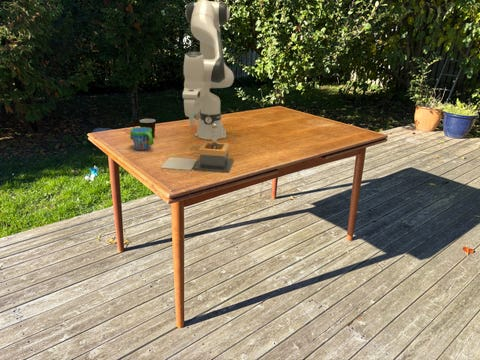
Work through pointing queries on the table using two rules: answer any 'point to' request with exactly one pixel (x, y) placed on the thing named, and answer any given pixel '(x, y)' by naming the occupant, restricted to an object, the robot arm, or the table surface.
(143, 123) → the coffee mug
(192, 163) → the mat
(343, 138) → the table surface
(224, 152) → the orange handled frame
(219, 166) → the stand
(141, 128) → the snack cup
